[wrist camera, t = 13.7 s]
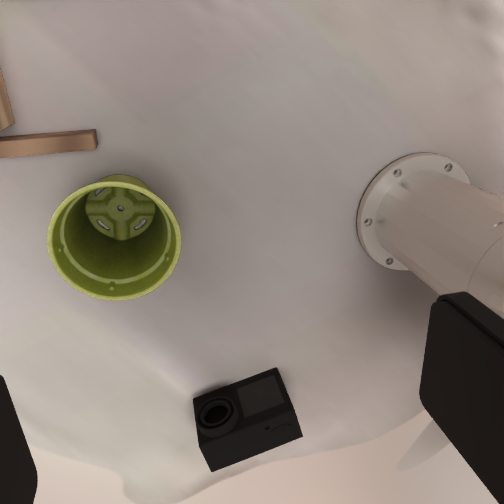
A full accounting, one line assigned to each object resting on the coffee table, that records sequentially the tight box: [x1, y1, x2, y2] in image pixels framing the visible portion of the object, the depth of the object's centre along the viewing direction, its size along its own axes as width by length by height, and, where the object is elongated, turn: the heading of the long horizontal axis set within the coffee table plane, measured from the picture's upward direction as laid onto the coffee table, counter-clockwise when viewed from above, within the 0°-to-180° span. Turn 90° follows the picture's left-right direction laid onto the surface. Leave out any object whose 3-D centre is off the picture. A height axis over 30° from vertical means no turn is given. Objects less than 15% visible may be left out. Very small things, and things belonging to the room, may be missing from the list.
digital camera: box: [193, 368, 303, 472], centre depth 49 cm, size 10×5×7 cm, turn 106°
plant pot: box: [47, 175, 181, 301], centre depth 36 cm, size 9×9×9 cm
